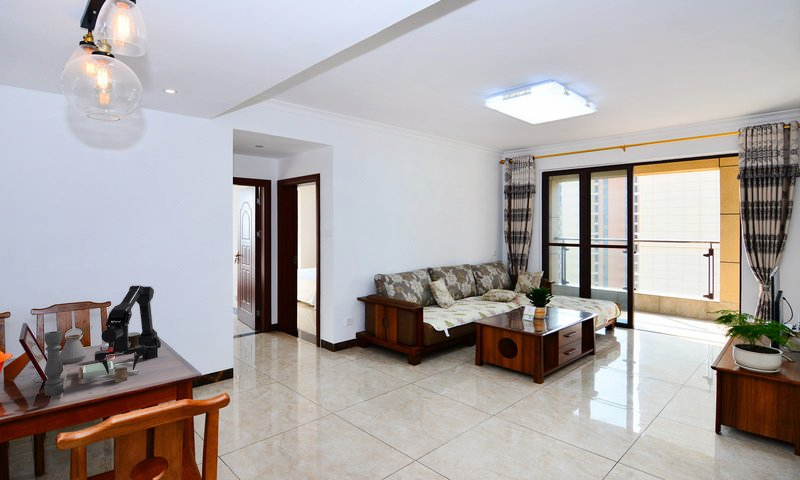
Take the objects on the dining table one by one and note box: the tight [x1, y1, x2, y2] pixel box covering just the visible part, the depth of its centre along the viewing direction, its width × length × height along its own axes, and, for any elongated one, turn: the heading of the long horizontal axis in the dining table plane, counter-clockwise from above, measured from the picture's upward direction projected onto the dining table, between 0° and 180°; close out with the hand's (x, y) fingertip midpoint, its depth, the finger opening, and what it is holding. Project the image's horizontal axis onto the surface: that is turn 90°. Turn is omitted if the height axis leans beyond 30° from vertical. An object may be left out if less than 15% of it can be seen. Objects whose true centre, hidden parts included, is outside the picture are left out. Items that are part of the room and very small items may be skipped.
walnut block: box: [114, 367, 128, 383], centre depth 186 cm, size 4×4×6 cm
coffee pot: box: [59, 325, 93, 364], centre depth 220 cm, size 21×12×15 cm, turn 8°
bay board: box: [78, 361, 140, 385], centre depth 194 cm, size 22×16×4 cm
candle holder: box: [43, 330, 65, 397], centre depth 174 cm, size 6×6×25 cm
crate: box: [82, 360, 115, 379], centre depth 191 cm, size 11×12×4 cm
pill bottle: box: [99, 339, 116, 362], centre depth 217 cm, size 6×6×11 cm
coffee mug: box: [127, 331, 141, 355], centre depth 231 cm, size 12×9×10 cm
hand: (120, 371), depth 186 cm, fingers open, 9 cm apart
